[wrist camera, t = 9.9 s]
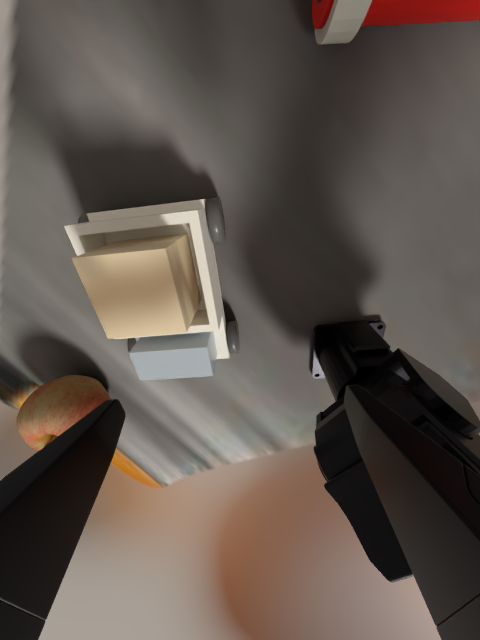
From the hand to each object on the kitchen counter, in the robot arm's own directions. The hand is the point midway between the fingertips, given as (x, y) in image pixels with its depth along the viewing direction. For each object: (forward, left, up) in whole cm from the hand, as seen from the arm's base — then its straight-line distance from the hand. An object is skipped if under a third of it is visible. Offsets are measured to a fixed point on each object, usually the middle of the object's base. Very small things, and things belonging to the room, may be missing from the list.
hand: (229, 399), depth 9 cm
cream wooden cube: (+2, +5, -10) cm, 12 cm away
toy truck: (0, +5, -13) cm, 14 cm away
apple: (-11, +19, -13) cm, 26 cm away
